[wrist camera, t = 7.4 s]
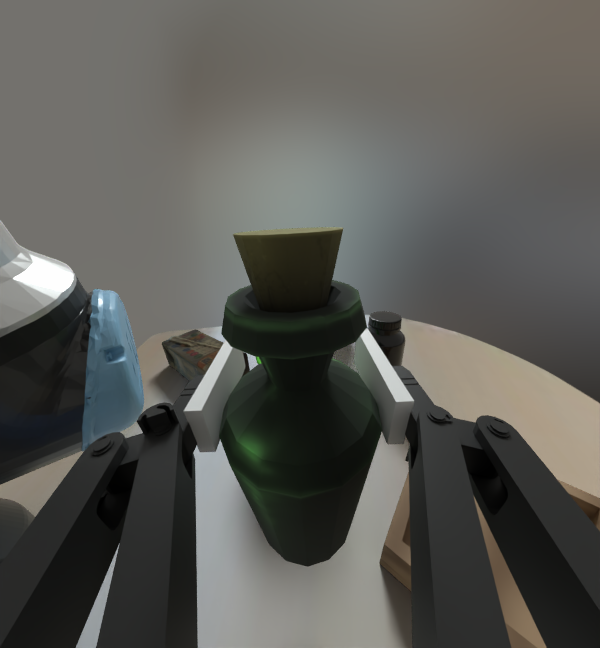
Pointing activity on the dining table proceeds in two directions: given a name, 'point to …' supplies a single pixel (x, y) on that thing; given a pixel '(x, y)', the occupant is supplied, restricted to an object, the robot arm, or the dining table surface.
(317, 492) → the potion bottle
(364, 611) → the dining table surface
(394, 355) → the supplement bottle
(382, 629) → the dining table surface
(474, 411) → the dining table surface
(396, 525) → the walnut tray
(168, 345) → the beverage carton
